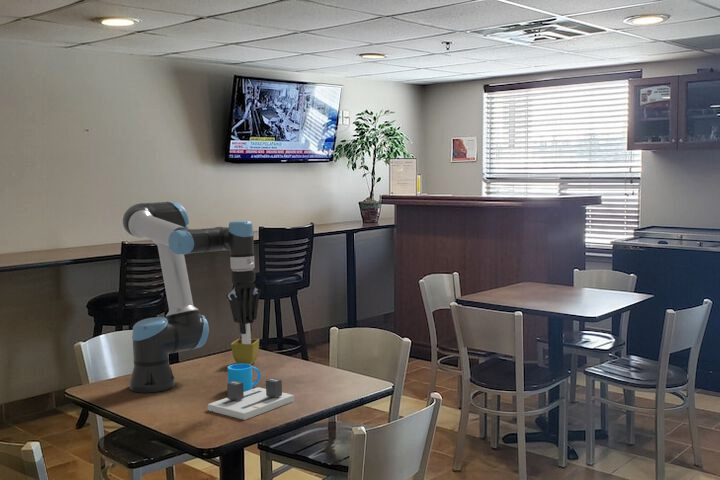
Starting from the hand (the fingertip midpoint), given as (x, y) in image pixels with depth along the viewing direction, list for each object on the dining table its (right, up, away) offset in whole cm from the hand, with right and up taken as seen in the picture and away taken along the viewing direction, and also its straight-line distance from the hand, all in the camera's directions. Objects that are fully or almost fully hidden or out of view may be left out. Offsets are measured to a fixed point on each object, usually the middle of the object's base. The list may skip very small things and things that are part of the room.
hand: (246, 343), depth 237 cm
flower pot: (-8, -15, +49) cm, 52 cm away
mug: (-3, -18, +16) cm, 24 cm away
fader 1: (-3, -17, -3) cm, 18 cm away
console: (+2, -19, -3) cm, 20 cm away
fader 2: (+9, -17, -1) cm, 19 cm away
